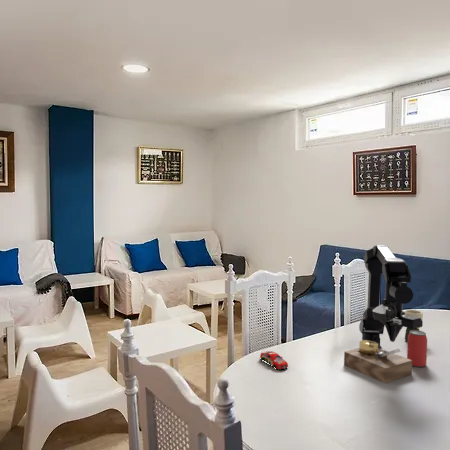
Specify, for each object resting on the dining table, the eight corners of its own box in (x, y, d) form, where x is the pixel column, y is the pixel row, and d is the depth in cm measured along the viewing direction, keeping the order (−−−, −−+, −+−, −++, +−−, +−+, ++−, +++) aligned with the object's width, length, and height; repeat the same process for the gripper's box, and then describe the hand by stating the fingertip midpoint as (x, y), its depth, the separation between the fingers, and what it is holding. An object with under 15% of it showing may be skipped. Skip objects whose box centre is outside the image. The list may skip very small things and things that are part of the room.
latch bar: (377, 358, 151) (375, 353, 152) (383, 356, 153) (381, 352, 154) (394, 353, 145) (392, 348, 146) (400, 351, 147) (398, 346, 147)
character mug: (417, 346, 179) (418, 315, 178) (399, 342, 183) (400, 312, 182) (424, 340, 187) (426, 310, 186) (407, 336, 191) (408, 307, 191)
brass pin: (369, 370, 153) (369, 347, 152) (355, 364, 158) (355, 341, 158) (381, 367, 156) (381, 344, 155) (367, 361, 161) (367, 339, 161)
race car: (290, 370, 153) (290, 359, 153) (277, 372, 151) (278, 361, 150) (270, 357, 165) (270, 347, 165) (258, 359, 162) (258, 349, 162)
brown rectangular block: (344, 364, 158) (344, 346, 157) (369, 357, 165) (370, 340, 164) (385, 383, 142) (385, 362, 142) (411, 374, 150) (412, 355, 149)
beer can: (428, 368, 155) (429, 335, 154) (408, 366, 156) (410, 334, 156) (423, 361, 162) (425, 330, 161) (405, 360, 163) (406, 329, 162)
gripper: (356, 293, 151) (354, 337, 152) (402, 305, 135) (401, 354, 136) (377, 290, 156) (376, 332, 157) (424, 301, 141) (422, 348, 141)
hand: (392, 341), depth 148 cm, fingers closed
